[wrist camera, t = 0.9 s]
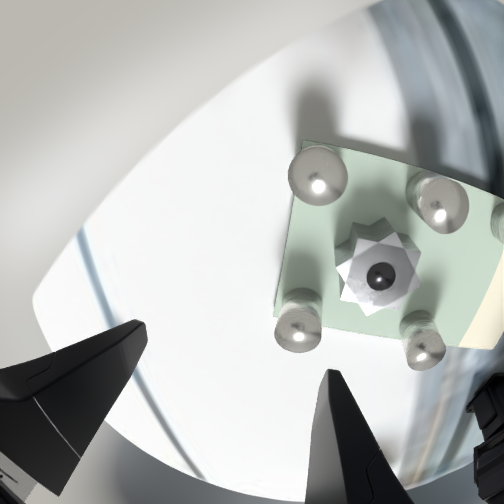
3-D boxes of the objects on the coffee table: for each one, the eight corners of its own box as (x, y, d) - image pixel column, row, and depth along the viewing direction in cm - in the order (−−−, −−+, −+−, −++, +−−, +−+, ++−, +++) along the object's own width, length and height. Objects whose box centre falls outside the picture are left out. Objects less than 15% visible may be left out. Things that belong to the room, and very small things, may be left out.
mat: (544, 219, 13) (549, 222, 13) (490, 344, 19) (492, 349, 18) (303, 140, 17) (302, 140, 16) (274, 310, 22) (272, 316, 22)
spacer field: (520, 207, 13) (547, 222, 10) (462, 346, 19) (474, 373, 16) (297, 139, 16) (292, 140, 13) (269, 314, 22) (259, 344, 18)
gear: (421, 226, 16) (437, 242, 14) (396, 298, 19) (405, 323, 16) (343, 206, 17) (347, 220, 14) (324, 284, 20) (324, 308, 17)
